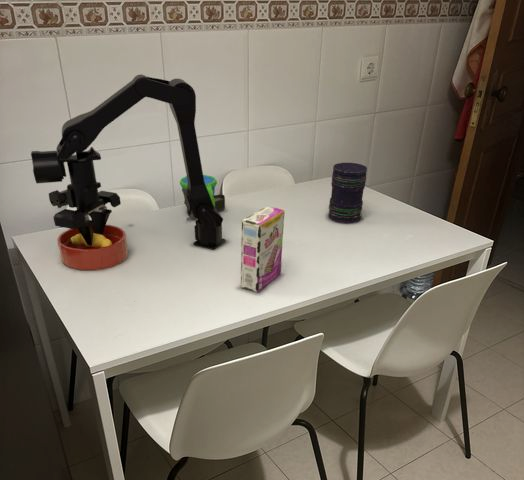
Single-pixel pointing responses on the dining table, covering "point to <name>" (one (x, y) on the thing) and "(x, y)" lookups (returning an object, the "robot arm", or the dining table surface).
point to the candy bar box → (261, 248)
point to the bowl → (93, 250)
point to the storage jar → (347, 192)
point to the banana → (97, 242)
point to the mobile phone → (219, 205)
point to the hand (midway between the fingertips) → (94, 242)
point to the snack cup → (209, 183)
